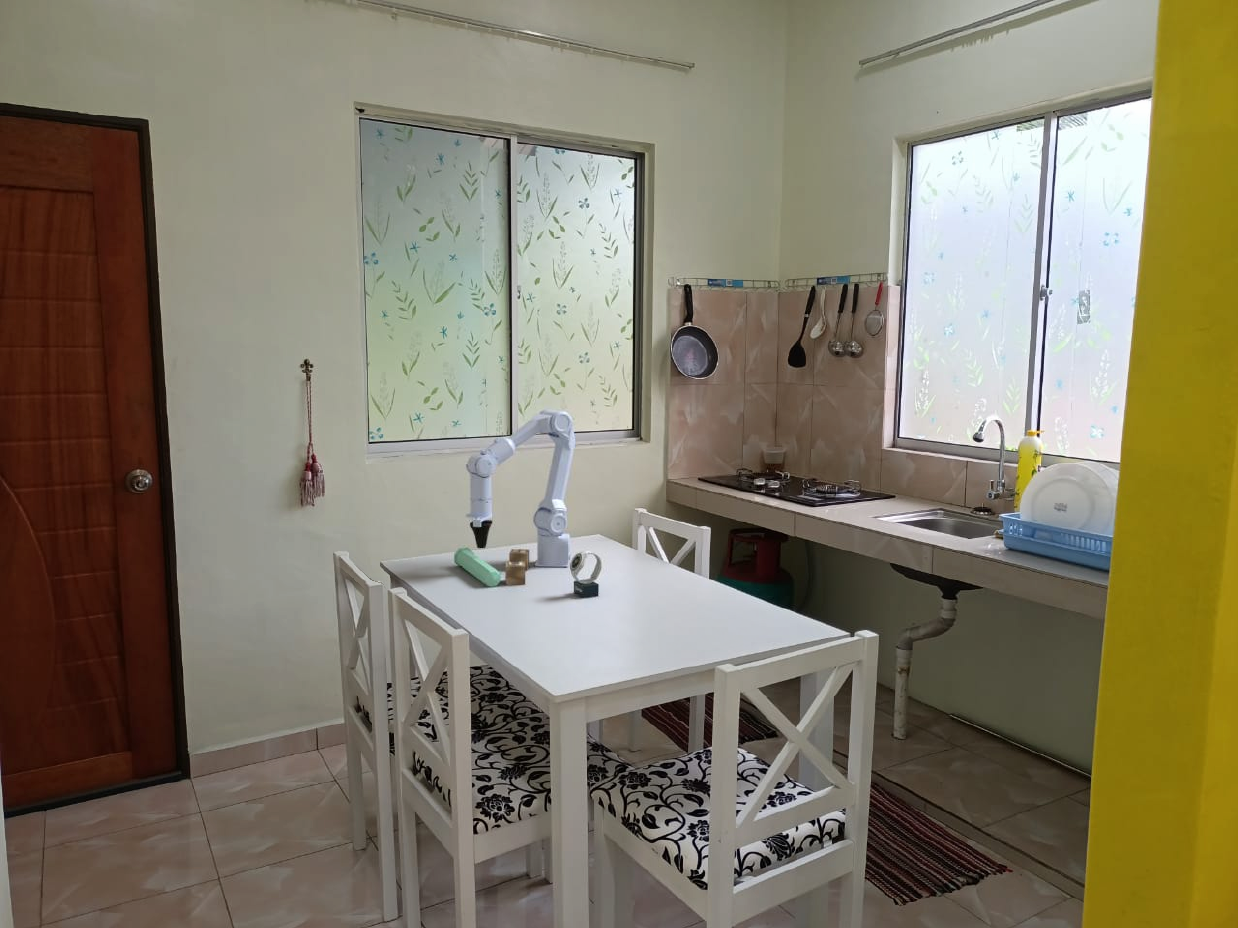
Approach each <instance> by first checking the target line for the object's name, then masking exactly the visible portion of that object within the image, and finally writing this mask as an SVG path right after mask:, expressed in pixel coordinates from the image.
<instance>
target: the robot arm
mask: <svg viewBox="0 0 1238 928" xmlns="http://www.w3.org/2000/svg"><path fill="white" fill-rule="evenodd" d="M574 425H575V421H574V420H573V418H572V417H571V416H570V414H569V413H568V412H567V411H563V410H562V411H561V410H559V411H558V410H553V409H549V408H544V409H542V410H540V412H538V413H536V414H534V415H533V416H532V417H531V418H530V420H528V421H526V422H525V424H523V425H522V426H521V427H520V428H518V429H517V430H516V431H514V433H512V434H511V435H509V436H508V437H507V438H506V437H500V438H498V437H497V438H495V439H494V440H493V443H492V444H490V445H488V446H487V447H486V448H482V449H481V450H480V453H475V454H473V455H470V457H469V458H468V461H467V462H466V464H465V468H466V470H467V472H468V473H469V487H470V488H469V489H470V490H469V491H470V492H469V493H470V494H469V495H470V496H469V498H470V508H469V509H470V513H466V515H465V516H466V517H465V518H469V519H471V520H472V521H471V522H470V523H469V527H470V528H471V531H472V532H473V535H474V539H475V545H476V548H477V549H486V547H487V544H488V537H489V533H490V529H491V526H492V524H493V519H492V518H493V509H492V508H493V507H492V506H493V505H492V504H493V503H492V502H493V501H492V499H493V498H492V490H493V489H492V475H494V473H495V471H496V468H497V467H499V466H500V465H501V464H502V463H504V462H505V461H507V460H508V459H509V458H511V457H512V456H513V455H514V454H515V450H516V448H517V447H519V446H520V445H522V444H523V443H525V442H527V441H529V439H532V438H533V437H534V436H536V435H537V434H547V435H548V436H549V438H550V439H551V440H552V441H553V443H554V450H553V455H552V460H551V465H550V470H549V475H548V479H547V485H546V489H545V495H544V498H543V499H542V500H541V501H540V502H539V504H538V507H537V509H536V510H535V512H534V514H533V517H532V520H533V521H532V522H533V525H534V526H535V527H536V532H537V537H536V538H537V539H536V540H537V543H536V544H537V546H536V548H537V549H536V550H537V552H536V554H537V555H536V556H537V557H536V561H535V563H534V567H549V568H551V567H552V568H553V567H558V568H568V567H569V566H570V563H571V556H572V555H571V538H570V537H571V536H570V535H571V534H570V533H564V532H565V531H566V529H567V526H568V519H567V513H568V509H567V506H566V504H565V503H564V500H565V497H566V496H565V495H566V492H567V491H566V490H567V485H568V480H569V477H570V471H571V465H572V461H573V457H574V456H573V455H574V451H575V447H576V446H575V445H576V437H575V432H574ZM490 519H492V520H490Z"/></svg>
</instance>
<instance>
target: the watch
mask: <svg viewBox="0 0 1238 928" xmlns="http://www.w3.org/2000/svg"><path fill="white" fill-rule="evenodd" d="M588 555H593V556H594V557H595V559H596V563H595V566H594V569H593V571H592V573H591V574H590V577H589V578H586V579H579V578H578V577H577V576H578V575H579V573H580V572H581V570H582V569H583V568H584V566H585V564H586V559H587V557H588ZM602 566H603V565H602V559H601V558H600V556H599V555H598V554H597V553H594V552H592V551H590V550H584V551H581V552H578V553H576V554H575V555H574V556H573V557H572V559H571V560H570V562H569V570H570V573H571V576H572V577H573V578H574V580H573V593H574V594H575V595H576V596H578V595H579V596H578V597H580V598H582V599H588V598H597V597H599V594H600V593H599V591H600V590H599V589H600V588H599V587H600V586H599V583H597V582H595V581H596V580H597V579H598V577H599V575H600V573H601V572H602V571H601V570H602ZM596 596H597V597H596Z"/></svg>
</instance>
